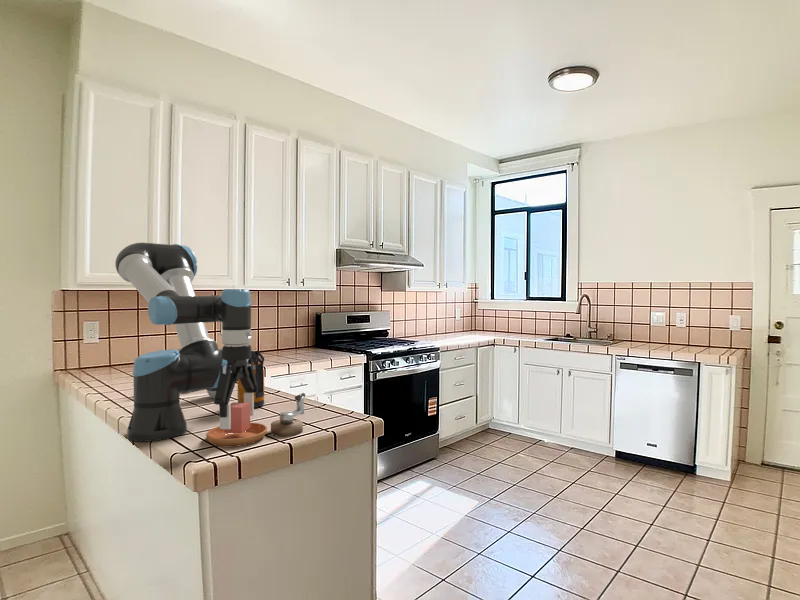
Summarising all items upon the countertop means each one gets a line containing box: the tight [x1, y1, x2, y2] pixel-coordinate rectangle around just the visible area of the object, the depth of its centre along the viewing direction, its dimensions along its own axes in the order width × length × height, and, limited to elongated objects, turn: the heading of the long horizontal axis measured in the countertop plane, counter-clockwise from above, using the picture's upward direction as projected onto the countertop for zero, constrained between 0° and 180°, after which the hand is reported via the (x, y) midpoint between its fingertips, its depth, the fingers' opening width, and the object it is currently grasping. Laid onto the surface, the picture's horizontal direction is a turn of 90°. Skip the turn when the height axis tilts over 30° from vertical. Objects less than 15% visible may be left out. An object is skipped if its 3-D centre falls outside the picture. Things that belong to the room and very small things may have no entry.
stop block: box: [224, 402, 251, 433], centre depth 130 cm, size 5×5×7 cm
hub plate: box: [270, 418, 304, 437], centre depth 137 cm, size 9×9×3 cm
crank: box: [279, 392, 306, 424], centre depth 141 cm, size 12×4×6 cm, turn 163°
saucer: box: [205, 422, 268, 447], centre depth 131 cm, size 16×16×3 cm
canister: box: [236, 349, 265, 408], centre depth 166 cm, size 9×11×20 cm
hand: (237, 421), depth 131 cm, fingers open, 13 cm apart
